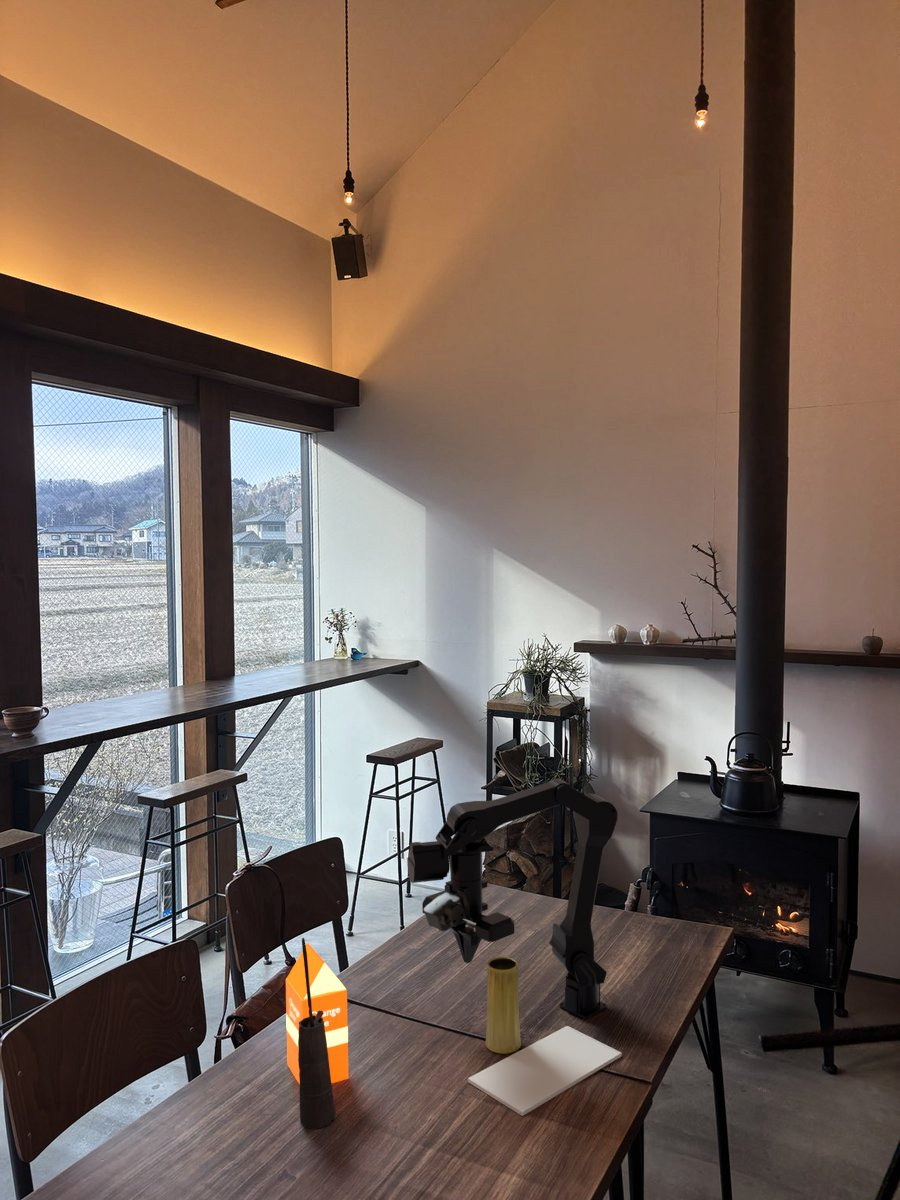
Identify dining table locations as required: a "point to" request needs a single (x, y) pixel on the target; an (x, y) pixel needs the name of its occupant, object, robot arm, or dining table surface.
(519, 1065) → the mat
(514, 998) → the vase
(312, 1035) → the butter churn
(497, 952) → the dining table surface
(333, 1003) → the orange juice
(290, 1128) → the dining table surface
